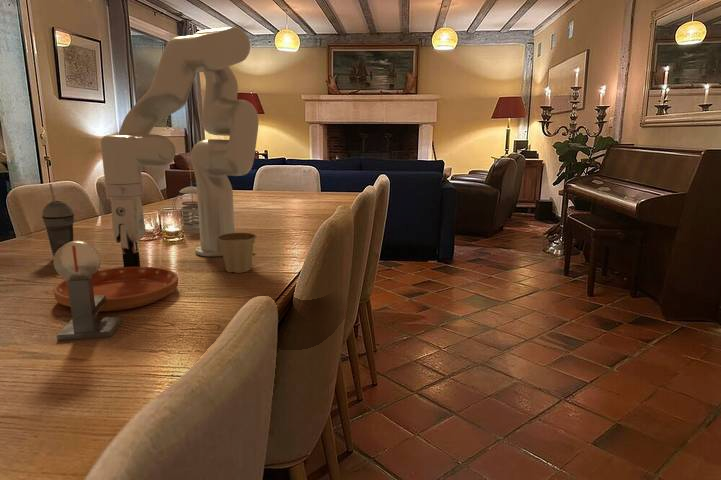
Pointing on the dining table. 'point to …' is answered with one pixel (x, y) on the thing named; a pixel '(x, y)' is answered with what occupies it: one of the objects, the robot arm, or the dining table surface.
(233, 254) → the flower pot
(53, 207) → the beverage cup
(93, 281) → the saucer
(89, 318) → the indicator stand
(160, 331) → the dining table surface
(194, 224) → the french press
